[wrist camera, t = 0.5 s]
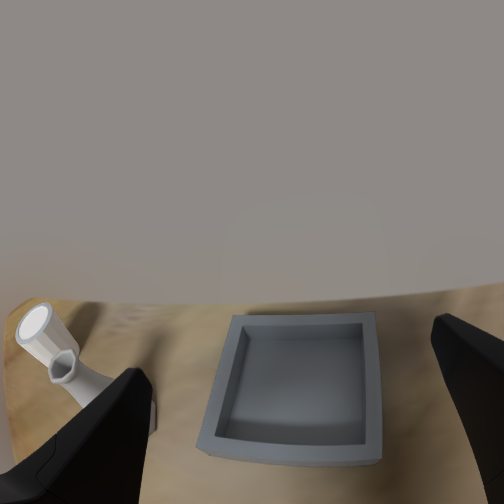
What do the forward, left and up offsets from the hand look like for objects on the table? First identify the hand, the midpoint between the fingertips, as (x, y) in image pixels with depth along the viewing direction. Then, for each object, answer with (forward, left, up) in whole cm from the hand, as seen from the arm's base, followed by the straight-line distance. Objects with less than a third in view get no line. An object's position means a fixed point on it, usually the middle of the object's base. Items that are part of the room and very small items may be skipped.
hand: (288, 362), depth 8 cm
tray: (+6, +2, -16) cm, 18 cm away
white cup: (+6, +32, -17) cm, 36 cm away
